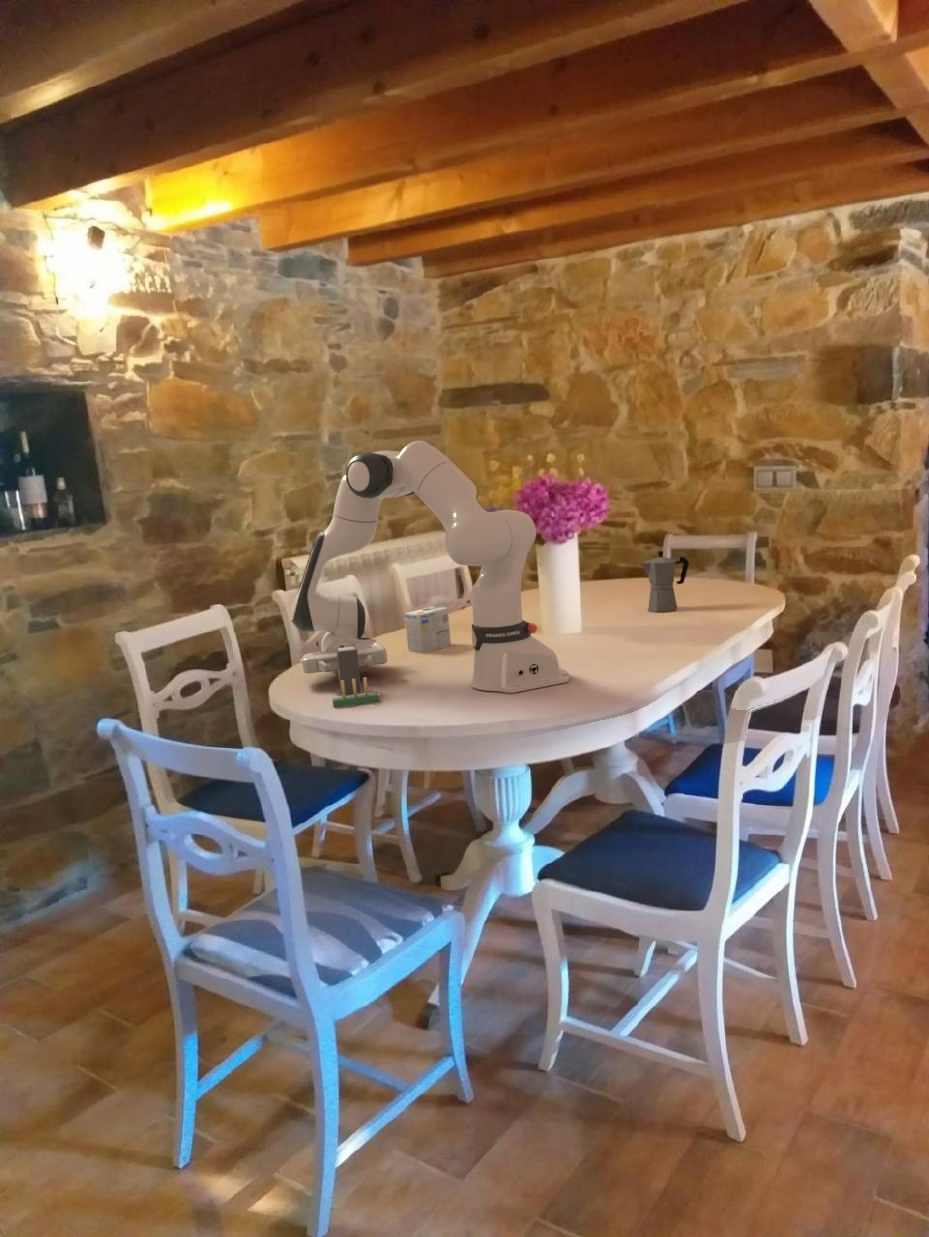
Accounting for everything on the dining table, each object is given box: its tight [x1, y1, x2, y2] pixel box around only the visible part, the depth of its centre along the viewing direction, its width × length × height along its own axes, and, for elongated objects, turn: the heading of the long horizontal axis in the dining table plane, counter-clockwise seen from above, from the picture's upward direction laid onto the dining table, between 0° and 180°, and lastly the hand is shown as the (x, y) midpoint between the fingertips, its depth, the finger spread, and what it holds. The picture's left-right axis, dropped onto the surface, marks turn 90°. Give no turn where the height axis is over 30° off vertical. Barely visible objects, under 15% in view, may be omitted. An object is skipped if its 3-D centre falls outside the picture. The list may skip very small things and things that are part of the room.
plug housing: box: [336, 646, 362, 695], centre depth 216 cm, size 4×4×10 cm
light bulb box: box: [404, 605, 452, 654], centre depth 255 cm, size 11×7×11 cm, turn 135°
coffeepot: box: [639, 550, 690, 613], centre depth 282 cm, size 15×9×18 cm, turn 100°
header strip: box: [332, 676, 380, 708], centre depth 206 cm, size 10×2×6 cm, turn 103°
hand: (347, 665), depth 218 cm, fingers open, 8 cm apart
